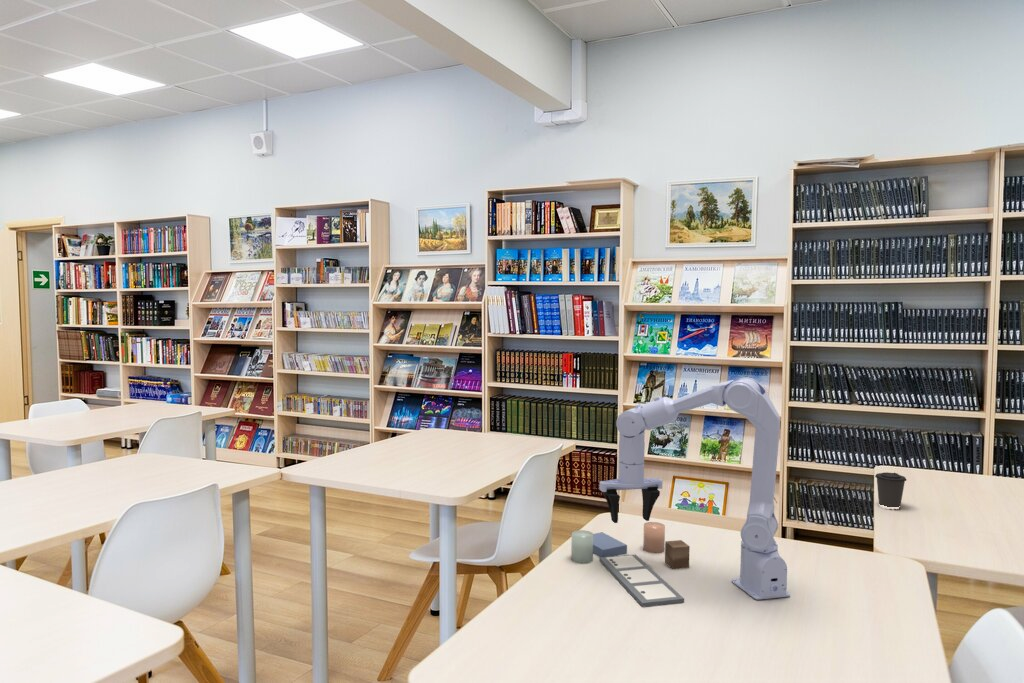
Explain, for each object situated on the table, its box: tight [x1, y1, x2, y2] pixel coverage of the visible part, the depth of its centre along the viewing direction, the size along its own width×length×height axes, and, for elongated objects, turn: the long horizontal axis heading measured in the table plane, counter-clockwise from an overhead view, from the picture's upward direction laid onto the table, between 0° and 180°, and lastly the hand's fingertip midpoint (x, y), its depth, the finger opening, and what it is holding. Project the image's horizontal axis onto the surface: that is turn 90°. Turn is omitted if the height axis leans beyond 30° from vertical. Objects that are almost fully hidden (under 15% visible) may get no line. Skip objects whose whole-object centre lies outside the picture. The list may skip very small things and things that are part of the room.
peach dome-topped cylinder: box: [642, 521, 666, 554], centre depth 164 cm, size 5×5×6 cm
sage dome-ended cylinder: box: [570, 529, 594, 564], centre depth 157 cm, size 5×5×6 cm
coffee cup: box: [875, 472, 907, 507], centre depth 198 cm, size 8×8×10 cm
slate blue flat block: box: [593, 532, 628, 558], centre depth 164 cm, size 10×7×2 cm
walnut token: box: [664, 539, 690, 570], centre depth 154 cm, size 4×4×5 cm
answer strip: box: [598, 554, 685, 608], centre depth 146 cm, size 24×9×1 cm, turn 13°
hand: (630, 520), depth 154 cm, fingers open, 7 cm apart
